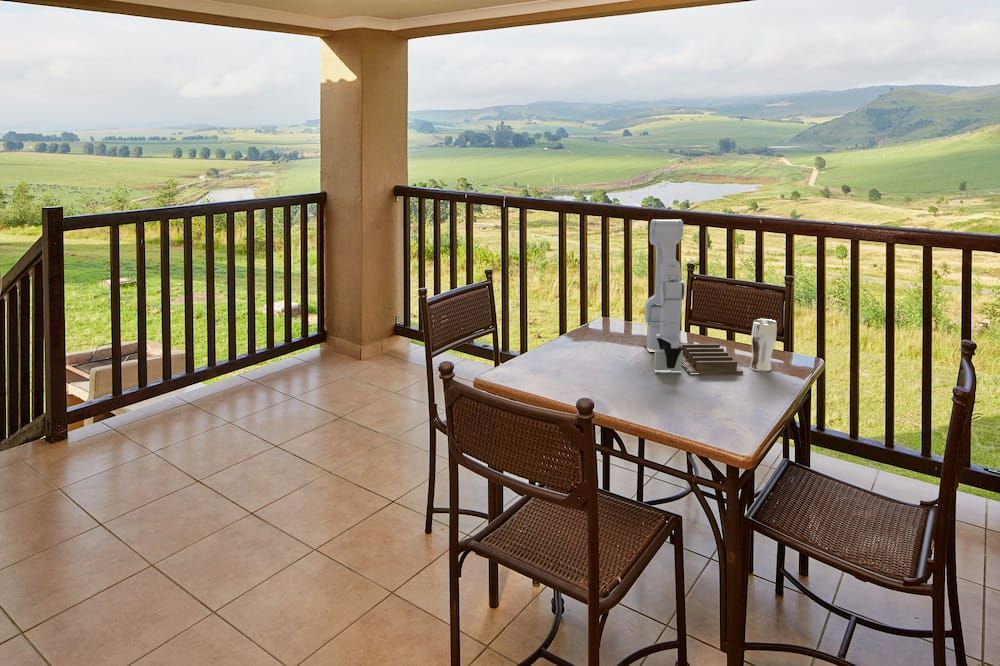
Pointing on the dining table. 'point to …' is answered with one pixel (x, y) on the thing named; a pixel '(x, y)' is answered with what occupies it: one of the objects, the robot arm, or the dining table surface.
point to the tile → (661, 361)
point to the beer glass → (763, 344)
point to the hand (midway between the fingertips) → (667, 363)
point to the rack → (708, 359)
